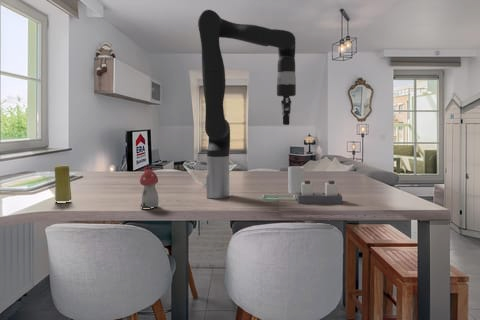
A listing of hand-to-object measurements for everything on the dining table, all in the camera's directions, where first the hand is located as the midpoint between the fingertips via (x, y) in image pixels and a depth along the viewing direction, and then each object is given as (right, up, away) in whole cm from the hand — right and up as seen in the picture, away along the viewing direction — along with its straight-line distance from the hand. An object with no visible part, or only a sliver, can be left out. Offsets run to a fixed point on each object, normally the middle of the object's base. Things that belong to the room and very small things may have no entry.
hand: (286, 124), depth 159 cm
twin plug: (+16, -30, -10) cm, 35 cm away
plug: (+7, -30, -10) cm, 32 cm away
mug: (+6, -29, +12) cm, 32 cm away
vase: (-89, -31, -3) cm, 94 cm away
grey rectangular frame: (+11, -31, -10) cm, 35 cm away
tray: (-3, -30, -2) cm, 31 cm away
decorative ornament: (-52, -32, -13) cm, 63 cm away
